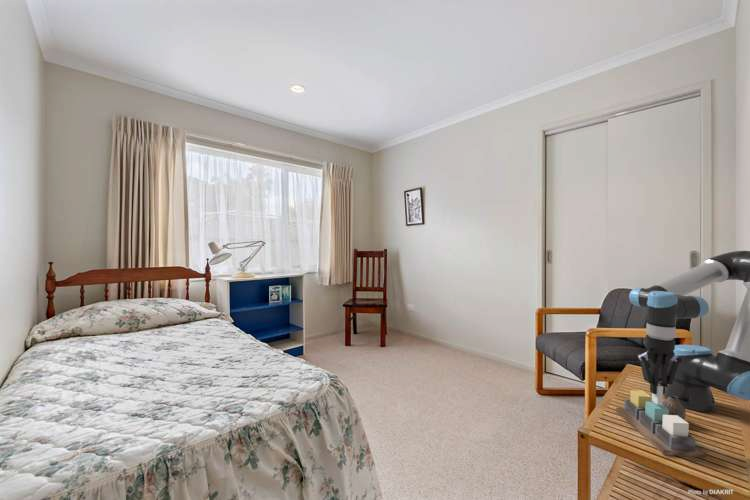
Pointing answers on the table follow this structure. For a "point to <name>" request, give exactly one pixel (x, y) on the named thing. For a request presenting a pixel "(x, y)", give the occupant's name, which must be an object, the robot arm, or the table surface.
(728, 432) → the table surface
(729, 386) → the robot arm
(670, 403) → the vase
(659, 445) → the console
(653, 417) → the plunger teal
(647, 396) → the plunger ochre
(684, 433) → the plunger cream
